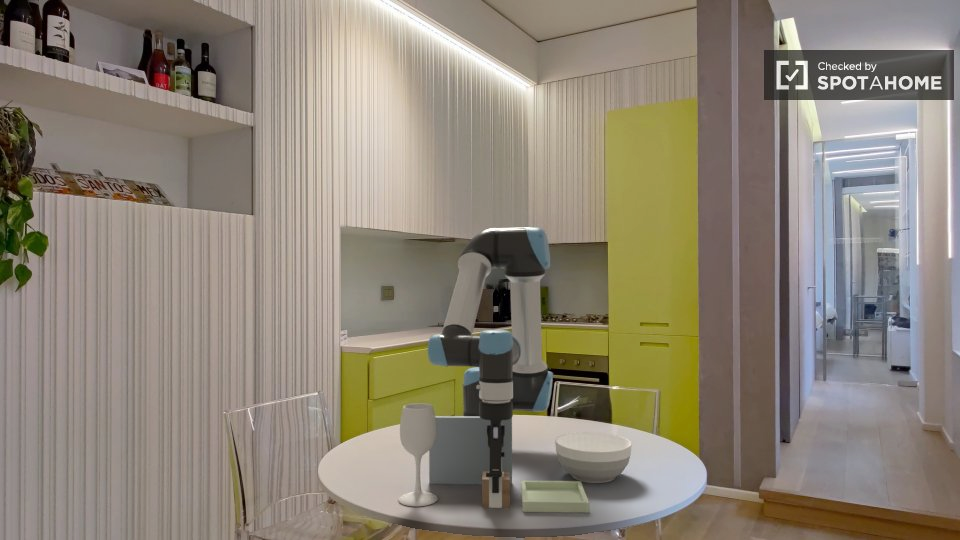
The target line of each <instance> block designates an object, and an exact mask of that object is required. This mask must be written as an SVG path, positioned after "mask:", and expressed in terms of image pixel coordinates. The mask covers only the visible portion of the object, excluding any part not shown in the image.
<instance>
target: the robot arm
mask: <svg viewBox="0 0 960 540" xmlns="http://www.w3.org/2000/svg"><path fill="white" fill-rule="evenodd" d="M550 267H551V252H550V245H549V240H548V236H547V233H546V232H545V230H544V229H542V228H541V227H534V226H533V227H532V226H531V227H530V226H527V227H526V226H525V227H524V226H521V227H520V226H519V227H498V228H497V227H491V228H488V229H484V230H483V231H481V232H479V233H477V234H476V235H474V236H473V237H472V238H471V239H470V240H469V241H468V242H467V243H466V244H465V245H464V247H463V248H462V250H461V252H460V254H459V258H458V261H457V268H458V270H459V271H458V275H457V278H456V282H455V286H454V288H453V293H452V295H451V299H450V302H449V305H448V310H447V313H446V317H445V320H444V323H443V327H442V331H441V333H439V334H433V335H431V336H430V337H429V339H428V344H427V357H428V360H429V362H430V363H431V365H435V366H441V367H447V368H448V367H469V368H468V369H465V372H464V373H463V379H462V381H463V382H462V383H463V384H462V391H463V392H462V399H463V400H462V402H463V404H462V405H463V406H462V409H463V410H462V411H463V413H462V414H463V415H462V416H479V417H480V418H482V419H484V420H490V421H491V425H487V436H488V447H489V448H490V472H489V473H486V477H489V507H488V508H490V509H493V508H495V509H502V508H503V507H502V472H501V471H502V458H501V457H504V452H501V451H502V447H503V446H504V436H505V425H501V421H502V420H508V419H511V418H512V419H513V417H514V413H513V411H517V412H518V411H519V412H531V413H533V412H534V413H535V412H545V411H547V410H548V408H549V406H550V400H551V396H552V388H553V381H554V380H553V375H554V372H552V371H549V370H548V364H547V363H546V362H545V361H543V352H542V351H543V349H542V348H543V347H542V346H543V345H542V309H541V280H542V279H543V277H544V276H545V275H546V270H547V269H549V268H550ZM493 269H499V270H500V269H502V270H504V276H505V277H506V278H507V279H508V281H509V282H510V283H509V285H510V287H509V288H510V313H511V314H510V317H511V320H510V321H511V331H509V330H505V329H490V330H489V329H488V330H482V331H481V332H480V334H479V335H475V334H474V335H473V333H474V328H475V325H476V319H477V316H478V311H479V307H480V303H481V299H482V294H483V291H484V286H485V282H486V278H487V277H488V276H489V275H490V273H491V272H492V270H493Z"/></svg>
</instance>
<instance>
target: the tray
mask: <svg viewBox="0 0 960 540" xmlns="http://www.w3.org/2000/svg"><path fill="white" fill-rule="evenodd" d="M520 493H521V494H520V495H521V507H522V512H523V513H585V514H586V513H590V501H589V499H588V497H587V494H586V492H585V489H584V486H583V483H582V481H579V480H520Z"/></svg>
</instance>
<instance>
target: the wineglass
mask: <svg viewBox="0 0 960 540" xmlns="http://www.w3.org/2000/svg"><path fill="white" fill-rule="evenodd" d="M435 416H436V414H435V410H434V406H433V405H432V404H430V403H423V402H422V403H421V402H420V403H418V402H416V403H414V402H413V403H409V404H405V405H403V407H402V411H401V416H400V422H399V438H400V442H401V445H402V448H404V449H405V451H407V452H408V453H409V454H411V455H412V456H413V458H414V461H415V486H414V487H415V488H414V491H411V492H407V493H404V494H403V495H401V496H400V497H399V498H398V502H399V504H401V505H403V506H407V507H426V506H430V505H432V504H435V503H436V502H437V501H438V496H437V495H435V494H434V493H431V492H429V491H423V490H422V485H421V463H422V462H421V461H422V458H423V456H424V455H426V454H427V453H428V452H429V450H430V449H431V448H432V446H433V445H434V443H435V439H436V419H435Z"/></svg>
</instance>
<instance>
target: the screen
mask: <svg viewBox="0 0 960 540" xmlns="http://www.w3.org/2000/svg"><path fill="white" fill-rule="evenodd" d="M435 419H436V439H435V443H434V445H433V446H432V448H431V449H430V450H429V451H428V452H429V453H428V454H429V456H428V461H429V462H428V463H429V465H428V470H429V471H428V477H429V478H428V479H429V480H428V481H429V485H482V476H483V471H490V448H489V447H488V436H487V425H491V421H490V420H484V419H482V418H480V417H479V416H463V415H460V416H459V415H458V416H457V415H453V416H452V415H444V416H443V415H442V416H441V415H435ZM501 425H505V436H504V446H503V447H502V451H501V452H504V457H501V458H502V471H509V474H510V486H512V485H513V417H512V418H511V419H508V420H502V421H501Z"/></svg>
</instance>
